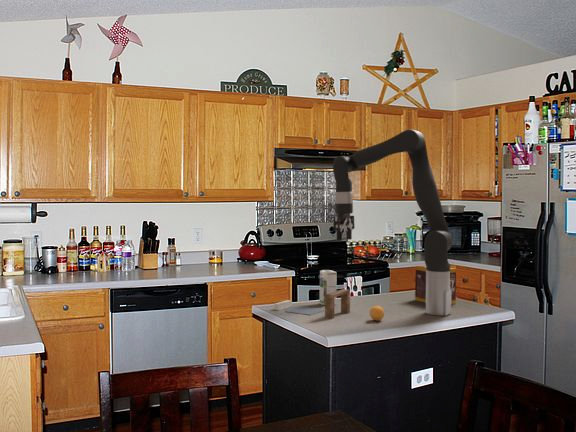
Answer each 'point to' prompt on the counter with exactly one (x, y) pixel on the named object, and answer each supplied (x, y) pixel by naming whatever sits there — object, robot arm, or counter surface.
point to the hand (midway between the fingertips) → (344, 240)
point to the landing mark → (305, 310)
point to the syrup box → (327, 284)
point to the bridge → (330, 302)
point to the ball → (376, 313)
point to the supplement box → (421, 284)
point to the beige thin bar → (283, 305)
